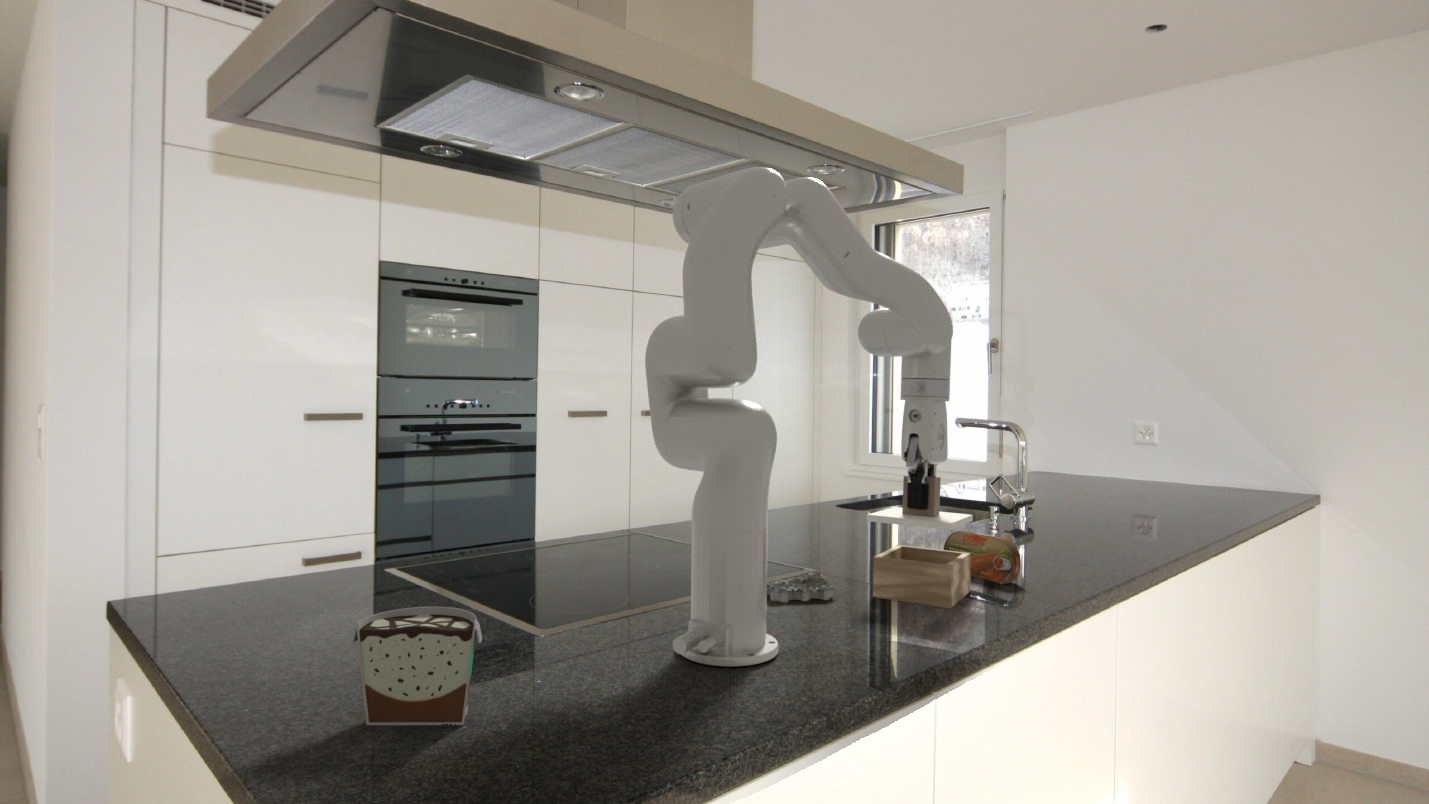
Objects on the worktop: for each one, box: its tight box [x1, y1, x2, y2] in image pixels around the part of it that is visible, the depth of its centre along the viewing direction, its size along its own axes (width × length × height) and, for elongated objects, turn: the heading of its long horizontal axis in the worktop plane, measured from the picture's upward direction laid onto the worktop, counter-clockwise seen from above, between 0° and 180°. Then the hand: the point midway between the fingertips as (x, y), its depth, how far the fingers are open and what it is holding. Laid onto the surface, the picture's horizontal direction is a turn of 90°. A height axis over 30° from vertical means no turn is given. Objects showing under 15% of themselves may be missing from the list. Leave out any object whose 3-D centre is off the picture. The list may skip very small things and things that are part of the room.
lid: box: [866, 474, 974, 531], centre depth 127 cm, size 13×13×7 cm
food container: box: [350, 606, 483, 726], centre depth 81 cm, size 12×6×10 cm, turn 92°
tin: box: [942, 530, 1021, 585], centre depth 140 cm, size 15×3×8 cm, turn 31°
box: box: [872, 544, 971, 609], centre depth 127 cm, size 12×12×7 cm
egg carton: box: [767, 570, 837, 603], centre depth 125 cm, size 11×8×4 cm
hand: (921, 506), depth 127 cm, fingers closed on lid, 3 cm apart
